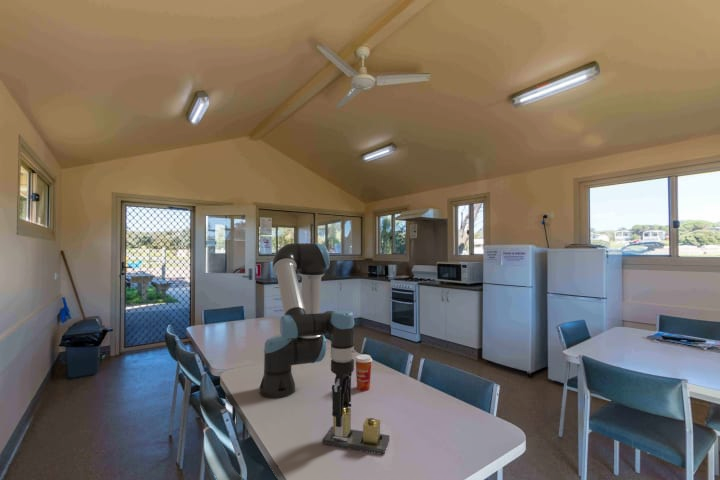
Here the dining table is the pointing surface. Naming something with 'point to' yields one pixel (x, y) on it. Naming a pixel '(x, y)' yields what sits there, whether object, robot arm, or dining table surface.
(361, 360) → the paper cup
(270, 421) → the dining table surface
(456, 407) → the dining table surface
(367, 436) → the holder with square slots
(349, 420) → the yellow square bottle
